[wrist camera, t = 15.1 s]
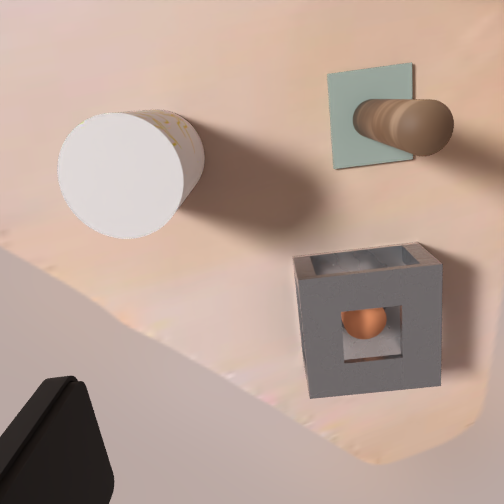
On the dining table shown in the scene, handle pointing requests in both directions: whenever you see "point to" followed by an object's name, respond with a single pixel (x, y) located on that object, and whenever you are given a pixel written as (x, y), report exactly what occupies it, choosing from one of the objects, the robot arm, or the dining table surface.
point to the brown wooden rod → (405, 124)
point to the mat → (347, 100)
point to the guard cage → (368, 297)
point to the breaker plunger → (364, 322)
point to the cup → (129, 170)
